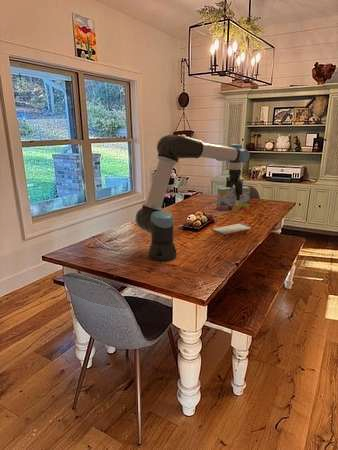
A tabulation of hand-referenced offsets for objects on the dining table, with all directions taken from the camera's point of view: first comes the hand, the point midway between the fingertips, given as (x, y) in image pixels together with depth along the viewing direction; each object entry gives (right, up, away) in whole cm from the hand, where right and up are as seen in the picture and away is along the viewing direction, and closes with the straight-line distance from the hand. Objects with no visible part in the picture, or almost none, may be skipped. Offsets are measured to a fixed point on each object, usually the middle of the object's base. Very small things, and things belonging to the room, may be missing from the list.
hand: (233, 204), depth 209 cm
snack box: (0, -4, +1) cm, 4 cm away
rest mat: (0, -17, +5) cm, 18 cm away
